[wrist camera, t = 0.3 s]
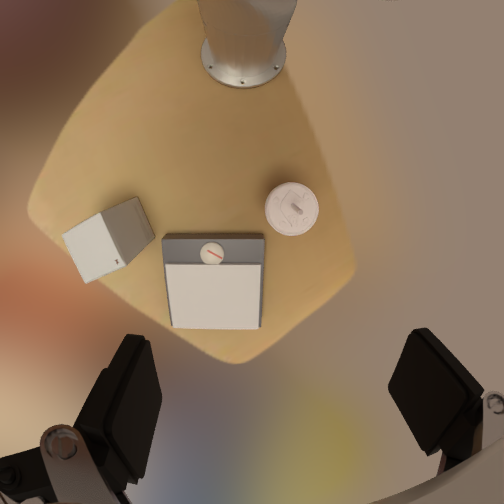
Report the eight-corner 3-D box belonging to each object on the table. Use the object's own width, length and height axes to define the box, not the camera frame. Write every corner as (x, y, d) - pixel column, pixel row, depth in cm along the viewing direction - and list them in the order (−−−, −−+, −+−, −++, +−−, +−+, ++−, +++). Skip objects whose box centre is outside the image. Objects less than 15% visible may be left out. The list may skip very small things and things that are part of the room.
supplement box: (138, 195, 39) (101, 210, 27) (156, 238, 41) (127, 268, 29) (102, 213, 39) (59, 234, 27) (120, 253, 42) (84, 286, 30)
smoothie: (298, 175, 39) (328, 182, 26) (303, 216, 41) (333, 242, 28) (256, 180, 39) (265, 190, 26) (262, 222, 41) (274, 252, 28)
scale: (166, 233, 41) (160, 240, 38) (262, 233, 42) (265, 241, 38) (174, 316, 46) (170, 328, 42) (259, 317, 47) (261, 330, 43)
